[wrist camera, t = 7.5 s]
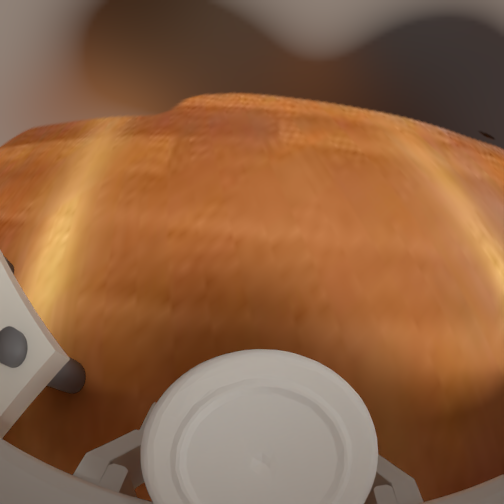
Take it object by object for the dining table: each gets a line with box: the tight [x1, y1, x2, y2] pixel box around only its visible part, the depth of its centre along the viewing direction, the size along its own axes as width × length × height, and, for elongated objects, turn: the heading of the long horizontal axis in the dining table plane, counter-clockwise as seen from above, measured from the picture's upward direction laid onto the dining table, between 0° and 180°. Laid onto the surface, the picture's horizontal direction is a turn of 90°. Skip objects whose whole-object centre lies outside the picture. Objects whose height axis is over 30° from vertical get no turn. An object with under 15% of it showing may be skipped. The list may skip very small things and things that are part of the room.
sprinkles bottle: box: [141, 349, 378, 504], centre depth 10 cm, size 5×5×13 cm
